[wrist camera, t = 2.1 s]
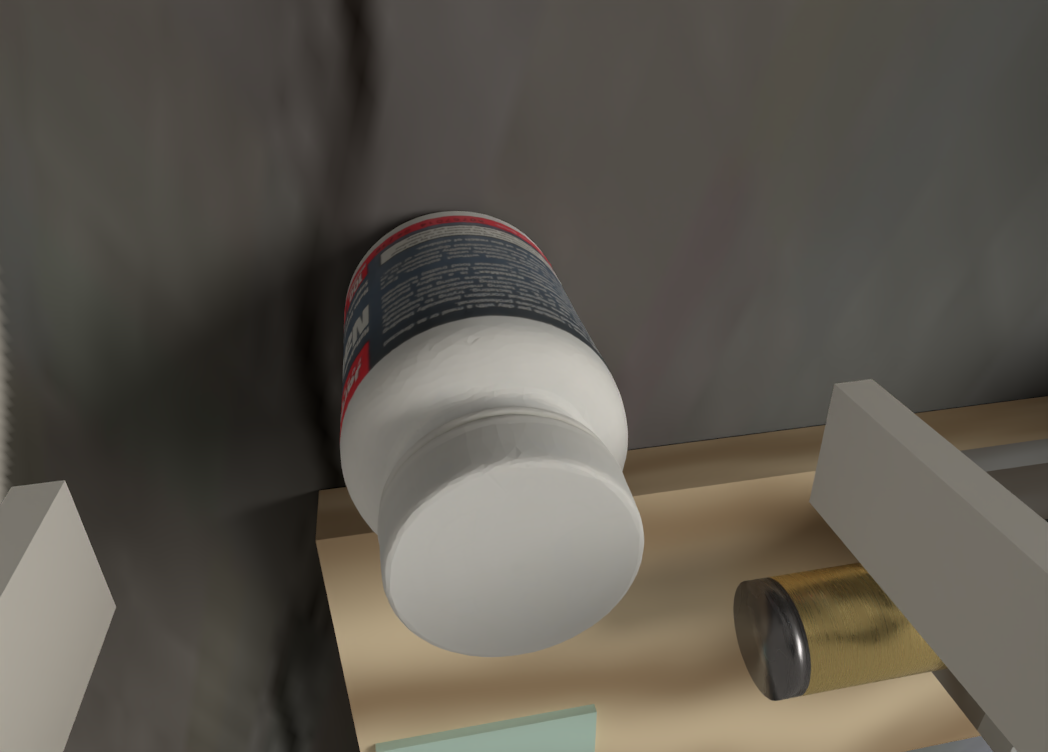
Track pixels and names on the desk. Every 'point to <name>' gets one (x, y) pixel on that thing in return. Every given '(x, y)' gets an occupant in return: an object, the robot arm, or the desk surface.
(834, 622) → the pin
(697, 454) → the wooden base board
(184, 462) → the desk surface
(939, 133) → the desk surface
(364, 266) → the pill bottle
